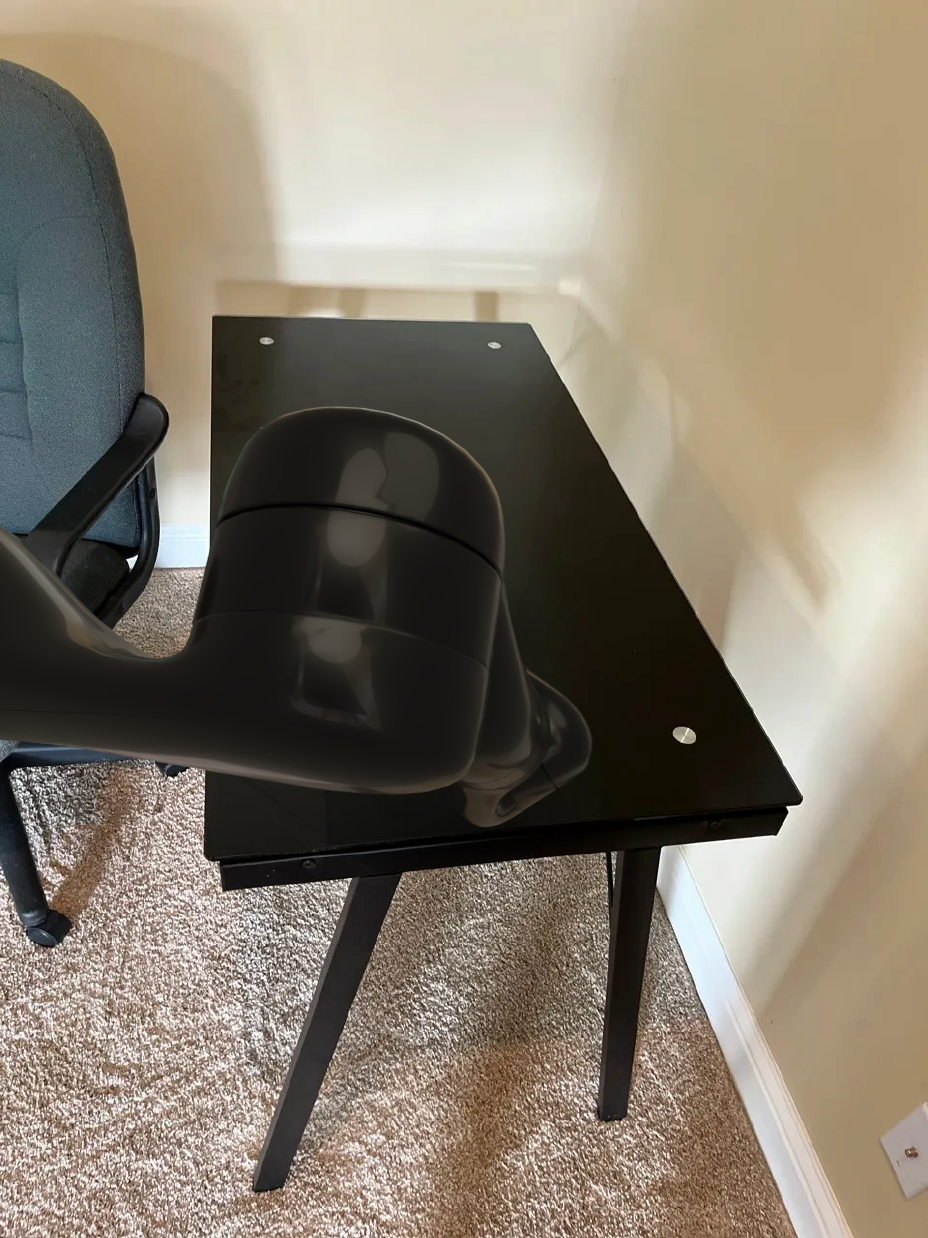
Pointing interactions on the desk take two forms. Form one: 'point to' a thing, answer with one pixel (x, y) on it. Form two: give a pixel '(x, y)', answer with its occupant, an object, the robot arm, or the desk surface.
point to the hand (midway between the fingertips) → (355, 488)
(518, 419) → the desk surface
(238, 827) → the desk surface
